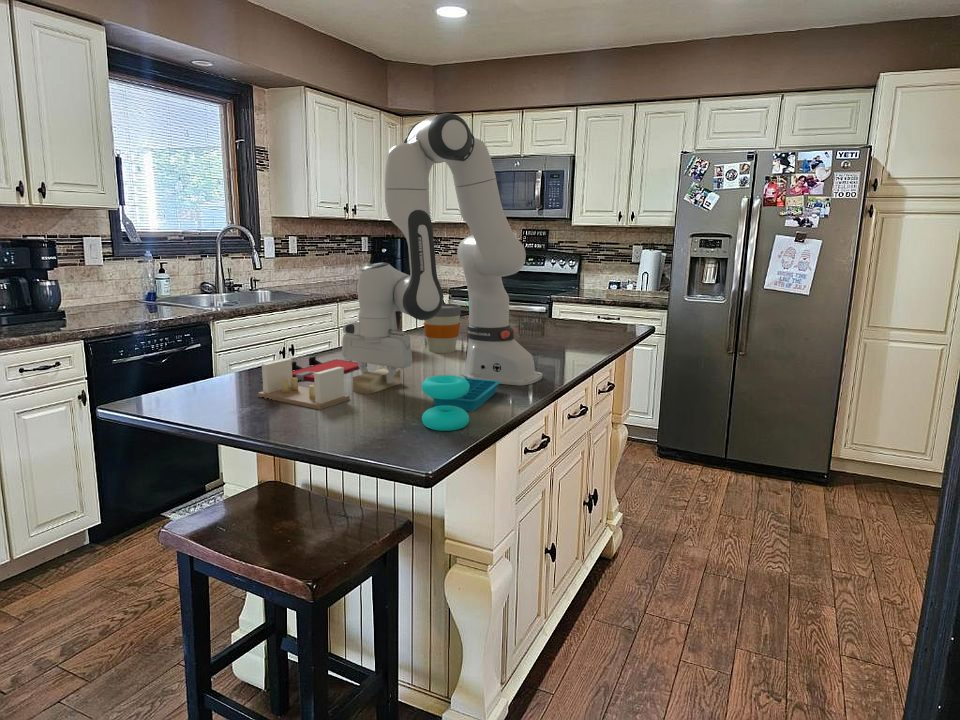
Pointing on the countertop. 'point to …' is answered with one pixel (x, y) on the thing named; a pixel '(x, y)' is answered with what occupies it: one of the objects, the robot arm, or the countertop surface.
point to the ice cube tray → (472, 395)
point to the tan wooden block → (374, 381)
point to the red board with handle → (320, 368)
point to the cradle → (287, 390)
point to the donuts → (445, 414)
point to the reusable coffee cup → (443, 329)
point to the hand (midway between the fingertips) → (377, 380)
